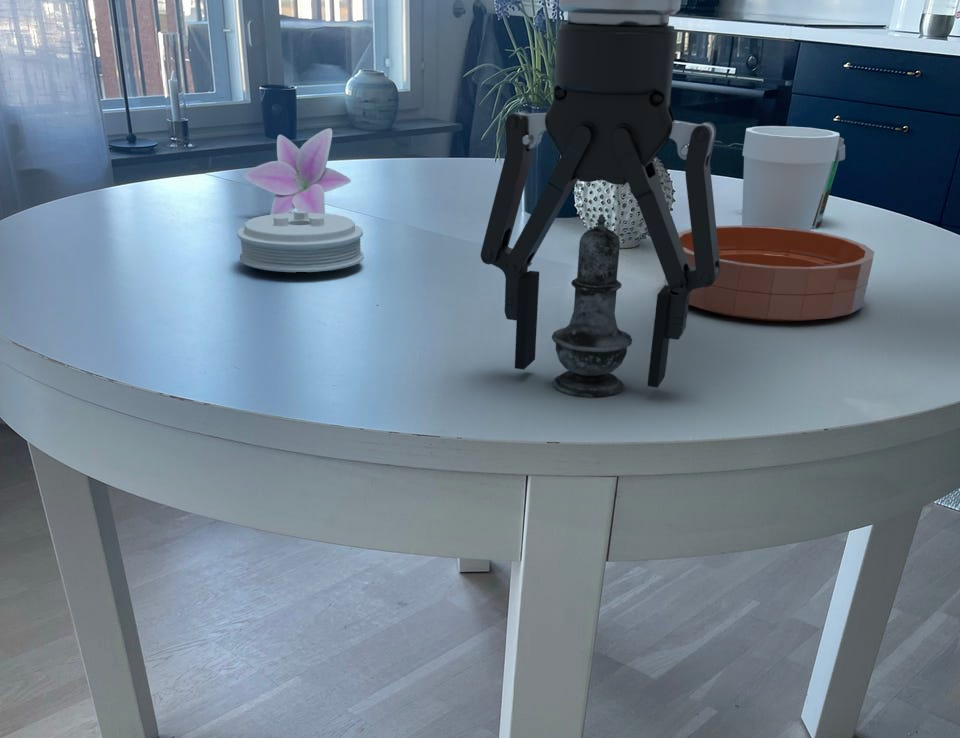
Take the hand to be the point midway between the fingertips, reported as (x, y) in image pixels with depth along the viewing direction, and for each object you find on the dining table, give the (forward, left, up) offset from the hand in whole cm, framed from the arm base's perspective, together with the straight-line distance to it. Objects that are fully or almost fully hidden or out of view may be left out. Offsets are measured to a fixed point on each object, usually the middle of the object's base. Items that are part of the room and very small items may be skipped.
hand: (589, 372), depth 75 cm
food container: (-8, -74, -1) cm, 74 cm away
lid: (+37, -24, -1) cm, 44 cm away
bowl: (-9, -31, -1) cm, 32 cm away
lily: (+49, -46, -1) cm, 67 cm away
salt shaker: (0, 0, -1) cm, 1 cm away
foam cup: (-8, -47, -1) cm, 48 cm away
